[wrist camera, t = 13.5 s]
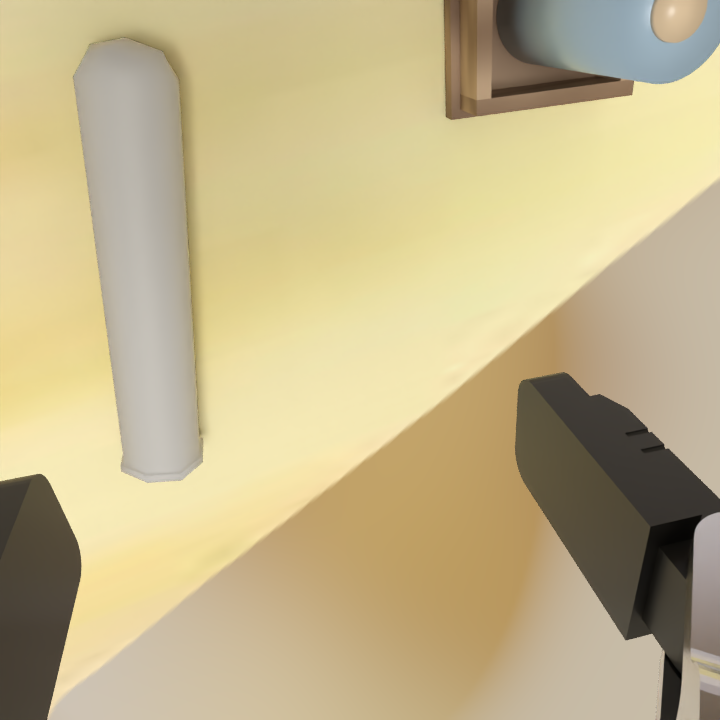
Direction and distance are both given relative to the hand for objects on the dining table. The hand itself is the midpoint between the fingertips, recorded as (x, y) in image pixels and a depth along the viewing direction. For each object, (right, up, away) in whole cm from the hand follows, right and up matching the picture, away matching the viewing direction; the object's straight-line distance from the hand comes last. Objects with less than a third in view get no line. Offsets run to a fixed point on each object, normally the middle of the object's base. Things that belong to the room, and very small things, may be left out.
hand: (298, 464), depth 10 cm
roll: (+11, +21, +22) cm, 32 cm away
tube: (-12, +7, +27) cm, 30 cm away
